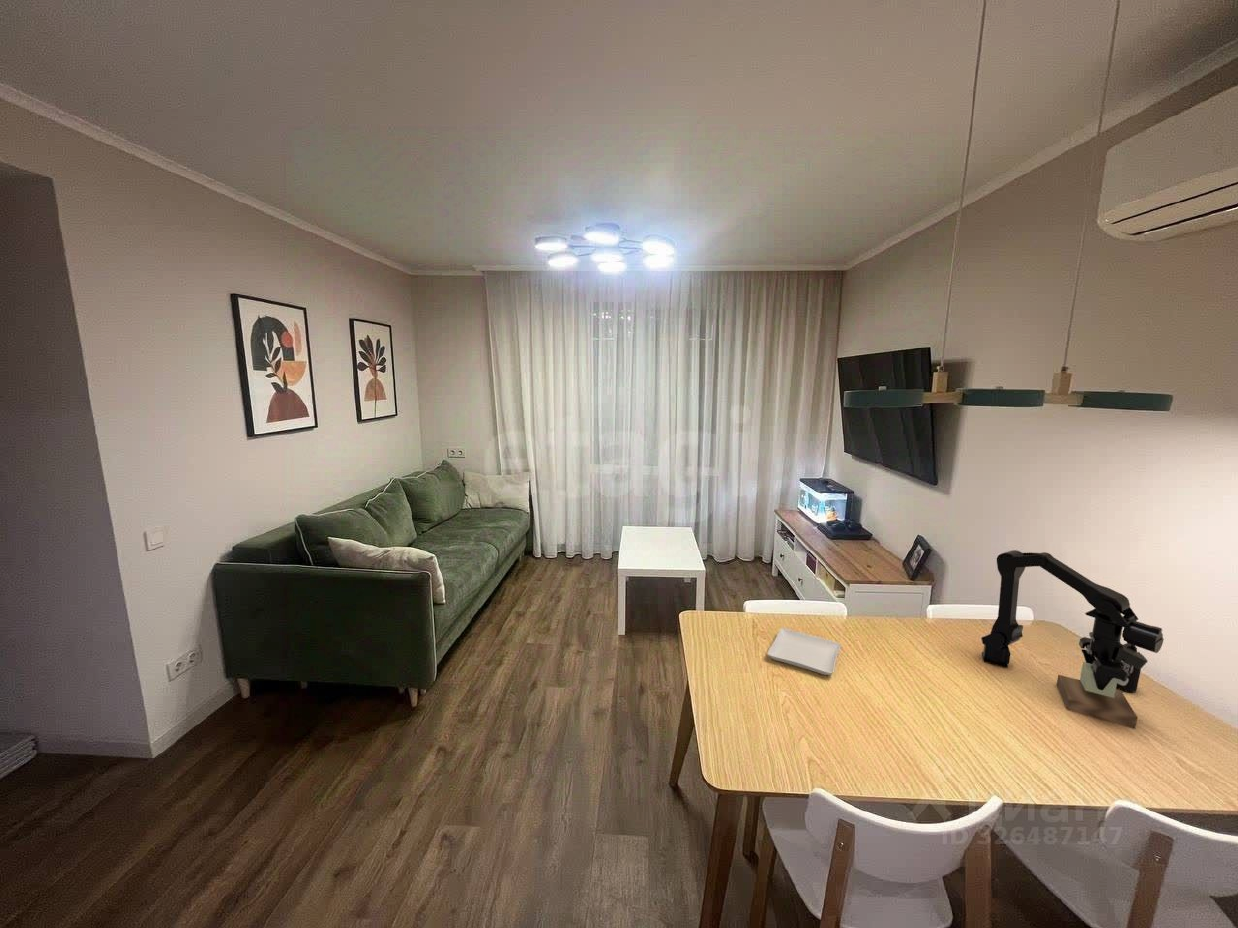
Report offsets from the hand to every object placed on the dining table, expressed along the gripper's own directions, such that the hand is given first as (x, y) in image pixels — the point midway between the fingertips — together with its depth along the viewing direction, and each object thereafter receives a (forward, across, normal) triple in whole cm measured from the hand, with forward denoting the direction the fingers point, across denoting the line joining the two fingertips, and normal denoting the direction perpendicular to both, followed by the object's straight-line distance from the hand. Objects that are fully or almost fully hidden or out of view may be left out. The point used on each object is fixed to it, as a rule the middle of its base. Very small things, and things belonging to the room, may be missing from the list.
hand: (1096, 683), depth 138 cm
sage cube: (+2, 0, 0) cm, 2 cm away
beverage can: (+7, +17, -10) cm, 21 cm away
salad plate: (+8, -20, +78) cm, 81 cm away
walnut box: (+8, 0, 0) cm, 8 cm away
